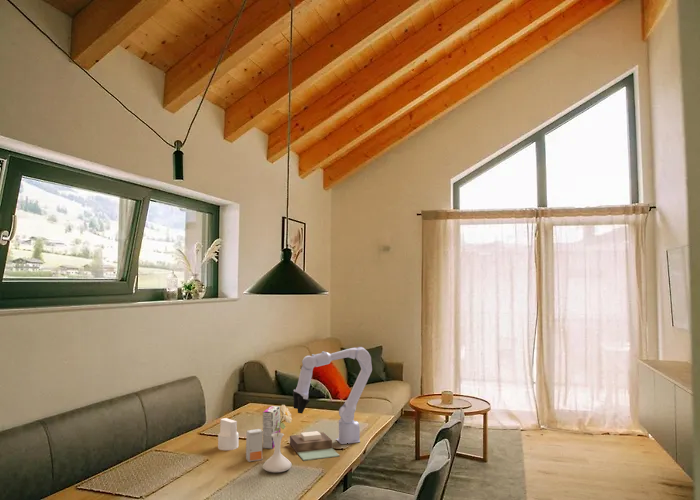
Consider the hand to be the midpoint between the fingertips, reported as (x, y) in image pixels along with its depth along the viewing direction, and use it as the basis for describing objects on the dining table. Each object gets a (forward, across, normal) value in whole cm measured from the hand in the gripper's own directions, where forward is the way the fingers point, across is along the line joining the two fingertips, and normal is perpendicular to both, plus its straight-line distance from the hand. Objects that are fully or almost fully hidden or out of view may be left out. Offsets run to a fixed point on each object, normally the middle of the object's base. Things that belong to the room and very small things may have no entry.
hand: (297, 410), depth 246 cm
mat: (+13, +20, +7) cm, 25 cm away
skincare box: (+19, +16, -19) cm, 31 cm away
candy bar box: (+17, -1, -8) cm, 19 cm away
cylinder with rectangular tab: (+22, -5, -27) cm, 35 cm away
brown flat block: (+13, +8, +7) cm, 17 cm away
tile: (+9, +8, +6) cm, 14 cm away
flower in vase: (+16, +31, -13) cm, 37 cm away
